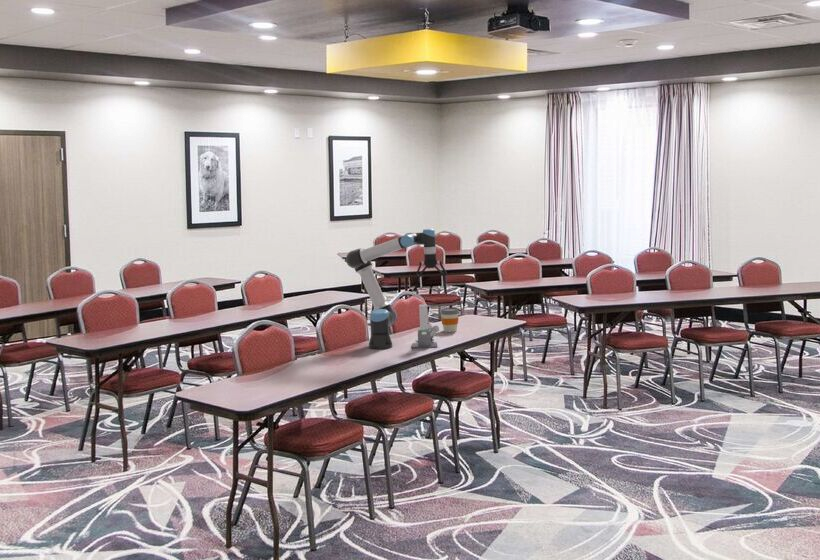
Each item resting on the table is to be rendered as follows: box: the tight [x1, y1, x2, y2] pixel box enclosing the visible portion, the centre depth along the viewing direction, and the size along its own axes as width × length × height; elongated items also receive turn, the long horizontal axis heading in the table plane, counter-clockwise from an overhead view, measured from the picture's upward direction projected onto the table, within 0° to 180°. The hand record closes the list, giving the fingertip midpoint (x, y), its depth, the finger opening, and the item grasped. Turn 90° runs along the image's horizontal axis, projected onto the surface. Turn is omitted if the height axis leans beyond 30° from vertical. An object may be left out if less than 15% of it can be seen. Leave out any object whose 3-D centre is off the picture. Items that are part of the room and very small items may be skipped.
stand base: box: [411, 329, 438, 349], centre depth 550 cm, size 16×12×10 cm
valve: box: [428, 323, 440, 340], centre depth 566 cm, size 10×18×15 cm
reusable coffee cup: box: [440, 307, 460, 333], centre depth 600 cm, size 13×13×15 cm
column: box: [418, 304, 429, 332], centre depth 548 cm, size 5×5×18 cm
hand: (431, 286), depth 552 cm, fingers open, 13 cm apart
